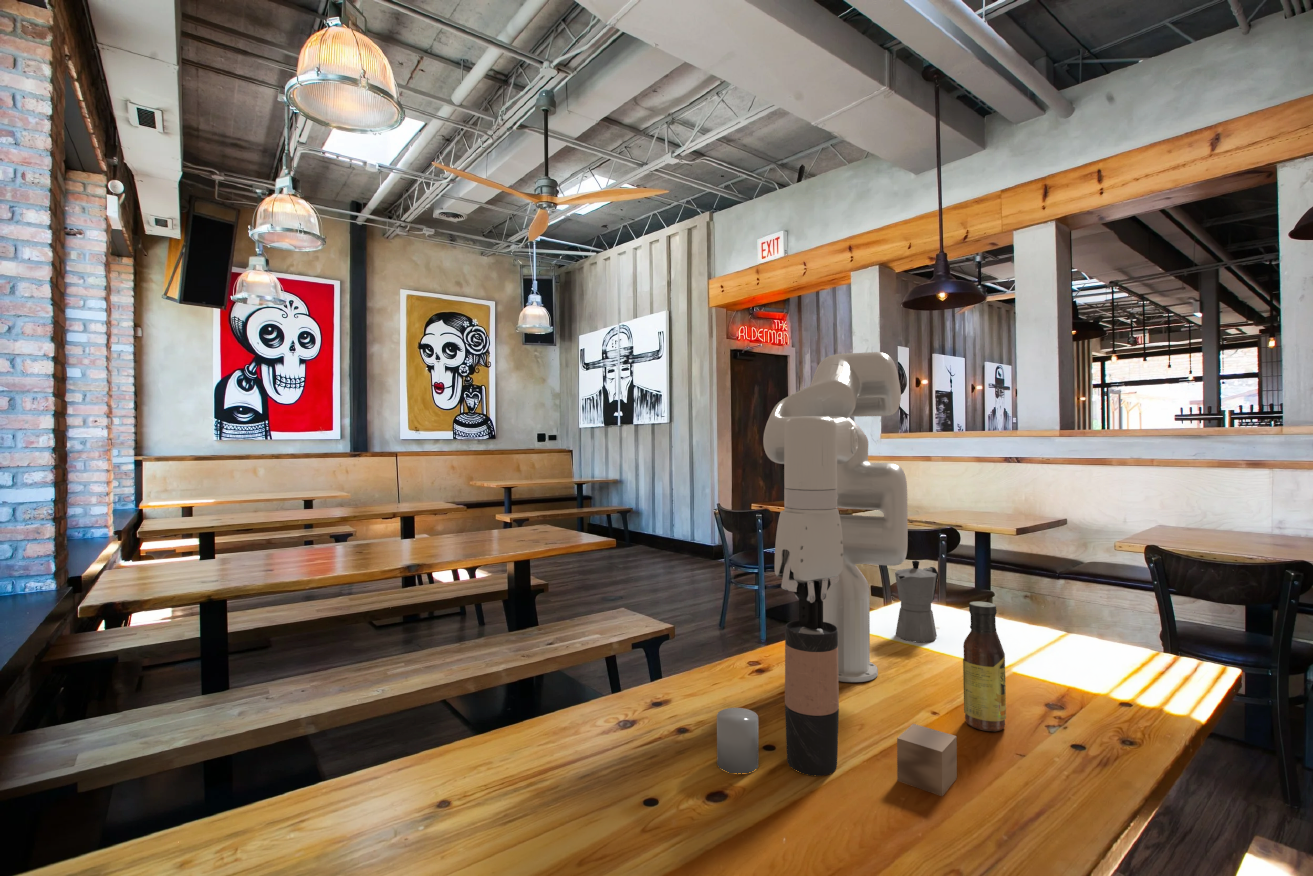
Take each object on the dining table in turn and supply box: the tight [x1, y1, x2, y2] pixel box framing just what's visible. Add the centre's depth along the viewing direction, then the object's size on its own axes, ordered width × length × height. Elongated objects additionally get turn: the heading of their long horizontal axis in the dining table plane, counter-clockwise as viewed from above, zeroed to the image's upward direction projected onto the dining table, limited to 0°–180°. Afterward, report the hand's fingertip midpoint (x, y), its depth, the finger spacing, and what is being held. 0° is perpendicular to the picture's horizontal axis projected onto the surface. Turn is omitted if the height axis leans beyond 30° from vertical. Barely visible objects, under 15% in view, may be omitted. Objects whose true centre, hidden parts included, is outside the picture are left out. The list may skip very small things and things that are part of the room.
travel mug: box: [784, 619, 840, 777], centre depth 95 cm, size 8×8×20 cm
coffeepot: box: [894, 560, 939, 643], centre depth 155 cm, size 15×9×18 cm, turn 125°
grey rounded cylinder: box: [716, 707, 759, 774], centre depth 95 cm, size 6×6×7 cm
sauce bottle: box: [962, 601, 1007, 733], centre depth 107 cm, size 7×6×20 cm
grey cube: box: [896, 723, 958, 797], centre depth 91 cm, size 6×6×6 cm
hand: (811, 626), depth 95 cm, fingers closed
